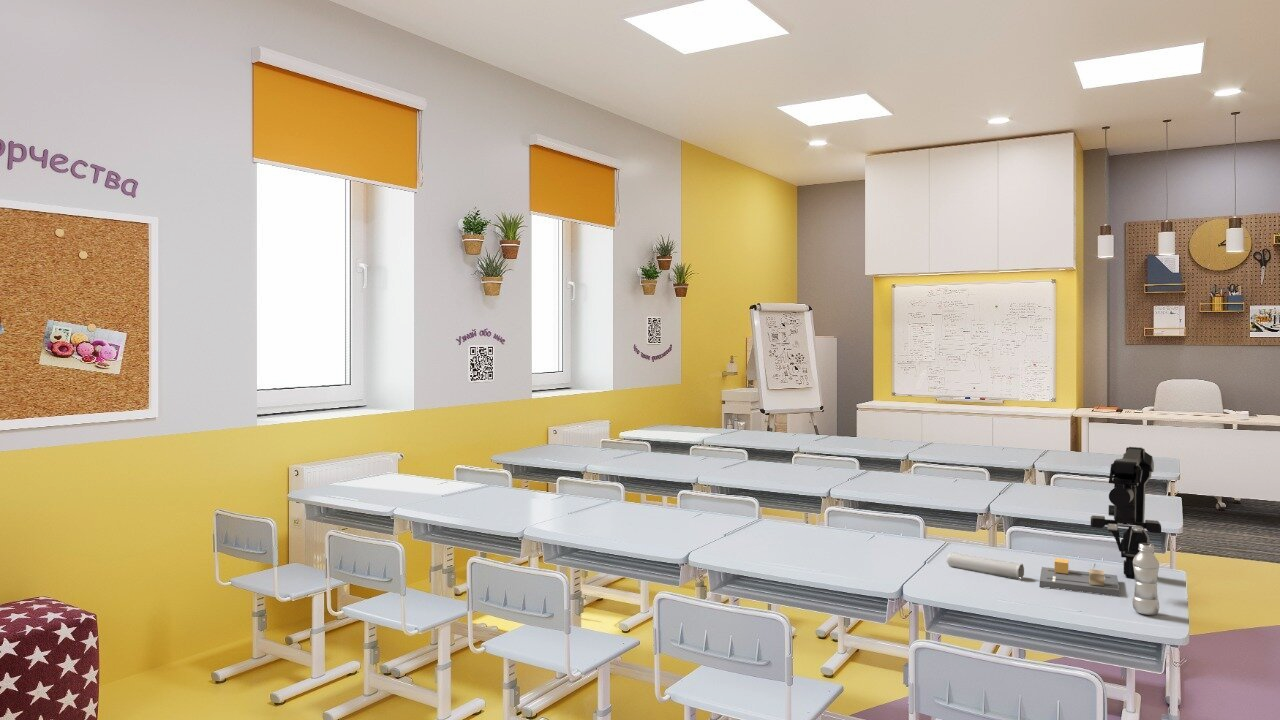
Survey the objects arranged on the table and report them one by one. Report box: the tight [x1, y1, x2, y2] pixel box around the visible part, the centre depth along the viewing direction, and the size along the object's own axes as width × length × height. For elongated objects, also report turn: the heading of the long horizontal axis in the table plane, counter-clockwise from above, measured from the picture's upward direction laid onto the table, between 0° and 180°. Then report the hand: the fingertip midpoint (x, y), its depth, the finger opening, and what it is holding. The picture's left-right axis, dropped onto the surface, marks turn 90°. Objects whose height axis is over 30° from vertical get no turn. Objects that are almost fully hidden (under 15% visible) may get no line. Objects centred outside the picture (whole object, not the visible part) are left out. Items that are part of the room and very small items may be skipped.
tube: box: [946, 552, 1025, 580], centre depth 283 cm, size 5×5×25 cm
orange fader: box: [1054, 557, 1069, 574], centre depth 275 cm, size 4×5×4 cm
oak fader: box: [1088, 568, 1105, 586], centre depth 261 cm, size 4×5×4 cm
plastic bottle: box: [1132, 542, 1161, 616], centre depth 239 cm, size 6×7×20 cm
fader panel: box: [1039, 566, 1120, 597], centre depth 268 cm, size 22×18×2 cm
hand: (1124, 551), depth 258 cm, fingers open, 2 cm apart
